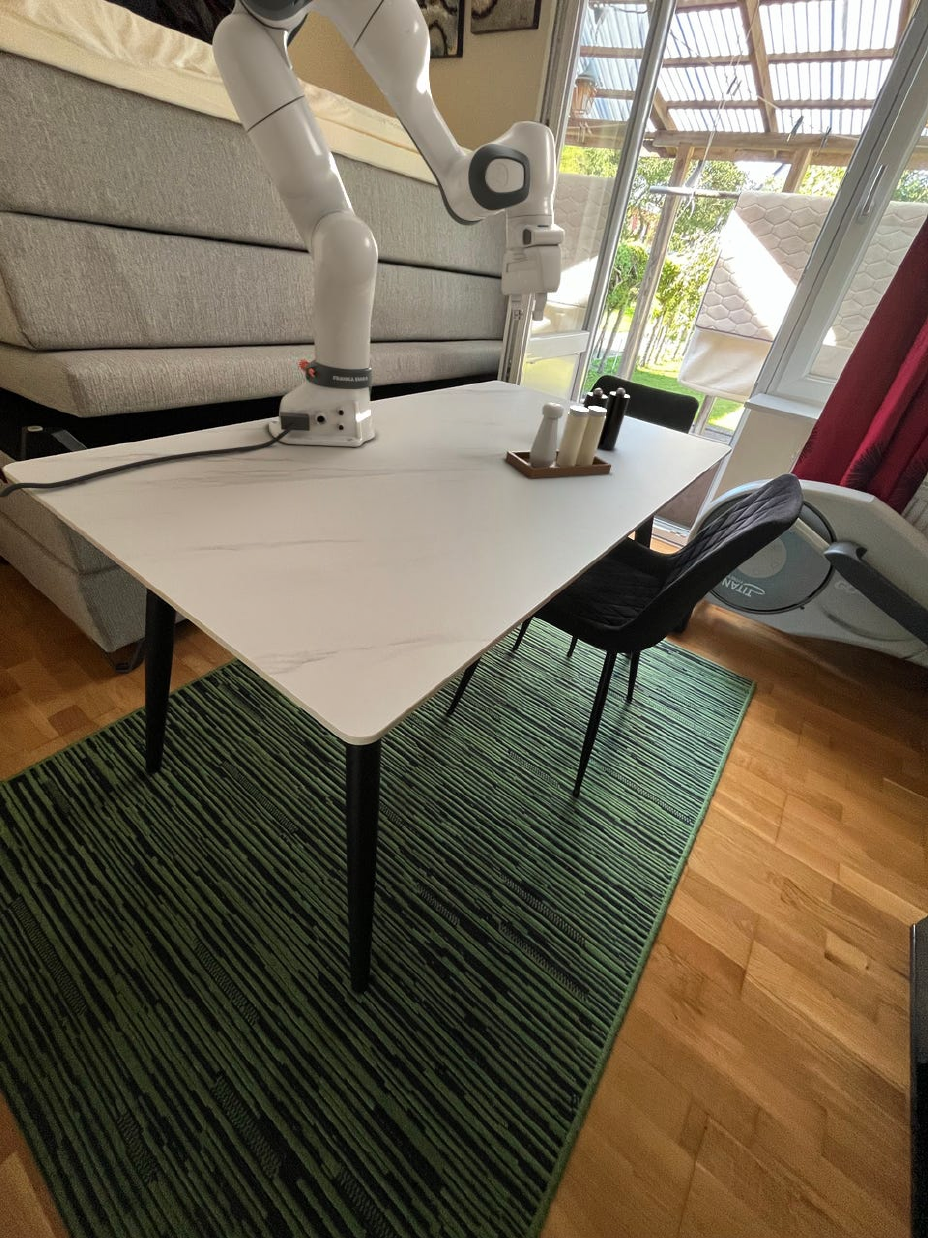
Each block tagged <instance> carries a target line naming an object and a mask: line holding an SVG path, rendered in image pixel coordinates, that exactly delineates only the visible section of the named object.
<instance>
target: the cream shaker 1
mask: <svg viewBox="0 0 928 1238" xmlns="http://www.w3.org/2000/svg"><path fill="white" fill-rule="evenodd" d="M583 407H584V406H578V405H571V406H570V408H569V411H568V412H567V416H566V420H565V424H564V428H563V432H562V436H561V440H560V443H559V448H558V450H559V451H558V455H557V460H556V464H557V465H559V466H575V464H576V460H577V457H578V453H579V449H580V446H581V442H582V438H583V435H584V431H585V427H586V423H587V420H588V413H589V410H588V409H586V408H583Z"/></svg>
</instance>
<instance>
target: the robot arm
mask: <svg viewBox="0 0 928 1238" xmlns="http://www.w3.org/2000/svg"><path fill="white" fill-rule="evenodd" d="M234 4H235V5H234V7H233V10H232V11H231V13H230V14H228V15H227V16H225V17H224V18H223V19H222V20H221V21H220V22H219V24H218V25H217V27H216V29H215V32H214V34H213V37H212V47H211V48H212V55H213V58H214V61H215V64H216V67H217V69H218V72H219V73H218V74H219V75H220V77H221V80H222V83H223V85H224V87H225V90H226V92H227V95H228V97H229V99H230V102H231V104H232V107H233V109H234V110H235V112H236V115H237V117H238V119H239V121H240V123H241V125H242V127H243V129H244V131H245V132H246V134H247V136H248V138H249V140H250V142H251V144H252V146H253V149H255V152H256V153H257V156H258V157H259V159H260V161H261V163H262V165H263V166H264V168H265V170H266V173H267V174H268V176H269V178H270V180H271V182H272V184H273V185H274V187H275V189H276V191H277V193H278V195H279V197H280V199H281V201H282V203H283V205H284V207H285V209H286V210H287V212H288V214H289V217H290V218H291V220H292V222H293V225H294V226H295V228H296V230H297V232H298V234H299V236H300V238H301V240H302V242H303V243H304V245H305V248H306V249H307V251H308V254H309V255H310V257H311V260H312V261H313V262H314V263H313V264H314V265H313V266H314V268H313V271H314V274H313V275H314V276H313V277H314V279H313V280H314V281H313V282H314V285H313V287H314V288H313V293H314V294H313V296H314V299H313V334H314V335H313V338H314V339H313V341H314V359H313V360H312V361H310V362H309V361H308V360H307V359H305V358H302V359H300V361H299V362H298V366H299V368H300V370H302V371H303V372H304V373H305V374H304V375H305V380H304V381H302V382H301V383H299V384H298V385H297V386H296V387H294V388H293V389H292V390H290V391H289V392H288V393H286V394H285V395H283V397H282V399H281V400H280V404H279V410H278V411H279V412H278V417H276V418H271V420H269V423H268V430H269V433H270V434H271V436H273V439H271V440H269V441H266V442H263V443H259V444H254V445H245V446H236V447H229V448H220V449H209V450H200V451H193V452H186V453H178V454H172V455H165V456H160V457H153V458H150V459H149V458H148V459H145V460H140V461H135V462H131V463H126V464H123V465H118V466H114V467H110V468H106V469H103V470H98V471H95V472H91V473H88V474H84V475H80V476H76V477H72V478H68V479H65V480H64V479H63V480H60V481H55V482H18V483H13V484H11V485H9V486H7V487H5V488H4V489H3V490H2V491H1V492H0V498H7V497H8V496H10V494H12V493H13V492H15V491H17V490H22V489H38V490H39V489H41V490H48V489H57V488H62V487H68V486H71V485H75V484H79V483H82V482H85V481H89V480H92V479H96V478H99V477H103V476H108V475H111V474H115V473H119V472H123V471H126V470H130V469H131V470H132V469H135V468H140V467H144V466H148V465H149V466H150V465H153V464H158V463H164V462H169V461H174V460H182V459H189V458H196V457H203V456H211V455H212V456H213V455H214V456H215V455H222V454H224V455H225V454H231V453H237V452H246V451H255V450H259V449H263V448H267V447H269V446H272V445H274V444H276V443H277V442H281V443H284V444H288V445H289V444H290V445H307V446H308V445H309V446H332V447H360V446H361V445H363V443H365V442H367V441H370V440H372V439H373V438H375V436H376V431H375V428H374V422H373V417H372V416H373V415H372V408H371V394H372V386H373V374H372V366H371V330H372V317H373V309H374V301H375V294H376V292H375V291H376V284H377V282H376V281H377V272H378V271H377V269H378V261H379V260H378V259H379V252H378V244H377V241H376V239H375V236H374V234H373V231H372V230H371V228H370V226H369V225H367V223H366V222H364V220H363V219H362V218H360V217H359V216H357V215H356V213H355V210H354V207H353V205H352V203H351V200H350V197H349V196H348V193H347V190H346V188H345V186H344V183H343V180H342V177H341V175H340V172H339V169H338V167H337V164H336V161H335V158H334V155H333V153H332V151H331V149H330V146H329V145H328V142H327V140H326V138H325V135H324V133H323V131H322V129H321V127H320V124H319V122H318V120H317V118H316V116H315V113H314V112H313V109H312V107H311V104H310V103H309V101H308V98H307V97H306V94H305V92H304V89H303V88H302V85H301V82H300V80H299V79H298V77H297V74H296V72H295V70H294V67H293V64H292V61H291V59H290V55H289V50H288V48H289V47H290V45H291V43H292V42H293V40H294V39H295V38H296V35H297V34H298V33H299V32H300V30H301V29H302V28H303V25H304V24H305V23H306V20H307V18H308V15H309V12H311V13H312V12H313V13H318V14H320V15H322V16H324V18H326V19H327V20H328V21H329V22H330V23H331V24H332V25H333V26H334V27H335V28H336V29H337V31H338V32H339V33H340V35H341V36H342V38H343V39H344V41H345V43H346V44H347V46H349V48H350V49H351V51H352V52H353V54H354V55H355V57H356V58H357V59H358V61H359V63H360V64H361V65H362V67H363V68H364V69H365V71H366V72H367V74H368V75H369V76H370V78H372V81H373V82H374V84H375V85H376V86H377V88H378V89H379V90H380V92H381V93H382V94H383V97H384V98H385V99H386V101H387V103H388V104H389V106H390V108H391V109H392V110H393V112H394V114H395V115H396V117H397V119H398V121H399V123H400V124H401V126H402V127H403V129H404V131H405V132H406V134H407V136H408V137H409V138H410V140H411V142H412V143H413V145H414V147H415V148H416V150H417V151H418V153H419V155H420V156H421V158H422V160H423V161H424V162H425V165H427V168H428V169H429V170H430V172H431V173H432V175H433V178H434V179H435V182H436V184H437V187H438V190H439V193H440V196H441V200H442V203H443V205H444V208H445V210H446V212H447V214H448V216H449V217H450V218H451V219H452V220H453V221H455V222H456V223H457V224H460V225H462V226H466V227H470V226H475V225H477V224H479V223H481V222H482V221H484V220H485V219H486V218H490V217H492V216H494V215H495V214H498V213H500V212H504V213H505V215H506V252H505V253H504V255H503V258H502V265H501V282H500V283H501V284H500V285H501V292H502V295H503V296H510V297H509V301H510V306H511V309H512V320H513V321H522V320H523V319H524V310H523V308H522V301H523V295H532V294H533V297H534V301H535V302H534V303H535V304H534V306H533V307H534V308H533V310H531V315H532V316H531V320H532V321H533V322H542V321H543V320H544V311H545V308H546V306H547V302H548V294H554V293H557V292H558V290H559V288H560V285H561V278H562V268H563V267H562V265H563V249H562V247H561V246H563V245H564V244H565V237H566V236H565V235H566V234H565V233H566V232H565V230H564V229H563V228H561V227H559V226H558V225H556V224H555V223H554V209H553V195H554V191H555V187H556V186H555V185H556V148H555V140H554V135H553V133H552V130H551V129H550V127H548V126H547V125H546V124H545V123H542V122H540V121H537V120H525V119H524V120H519V121H516V122H514V123H513V124H512V126H511V127H510V128H509V129H508V130H507V131H506V132H504V133H502V135H500V136H499V137H497V138H496V139H494V140H492V141H491V142H488V143H485V144H483V145H480V146H479V147H478V148H476V149H474V150H472V151H471V152H470V153H467V152H465V151H464V150H463V149H462V148H461V147H460V145H459V144H458V142H457V140H456V139H455V137H454V135H453V134H452V132H451V130H450V128H449V127H448V125H447V123H446V121H445V120H444V117H443V116H442V114H441V112H440V111H439V109H438V108H437V106H436V103H435V101H434V98H433V95H432V92H431V86H430V59H431V37H430V30H429V27H428V25H427V22H426V19H425V17H424V15H423V13H422V10H421V7H420V6H419V4H418V1H417V0H235V3H234Z"/></svg>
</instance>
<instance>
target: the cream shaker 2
mask: <svg viewBox="0 0 928 1238" xmlns="http://www.w3.org/2000/svg"><path fill="white" fill-rule="evenodd" d="M588 410H589V413H588V420H587V423H586V427H585V431H584V435H583V438H582V442H581V446H580V449H579V453H578V457H577V460H576V465H579V466H580V465H592V463H593V460H594V457H595V456H596V453H597V449H598V448H597V446H598V443H599V439H600V436H601V433H602V429H603V426H604V422H605V419H606V416H605V415H606V412H607V410H605V409H603V408H600V407H595V406H590V407H589V408H588Z"/></svg>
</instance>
